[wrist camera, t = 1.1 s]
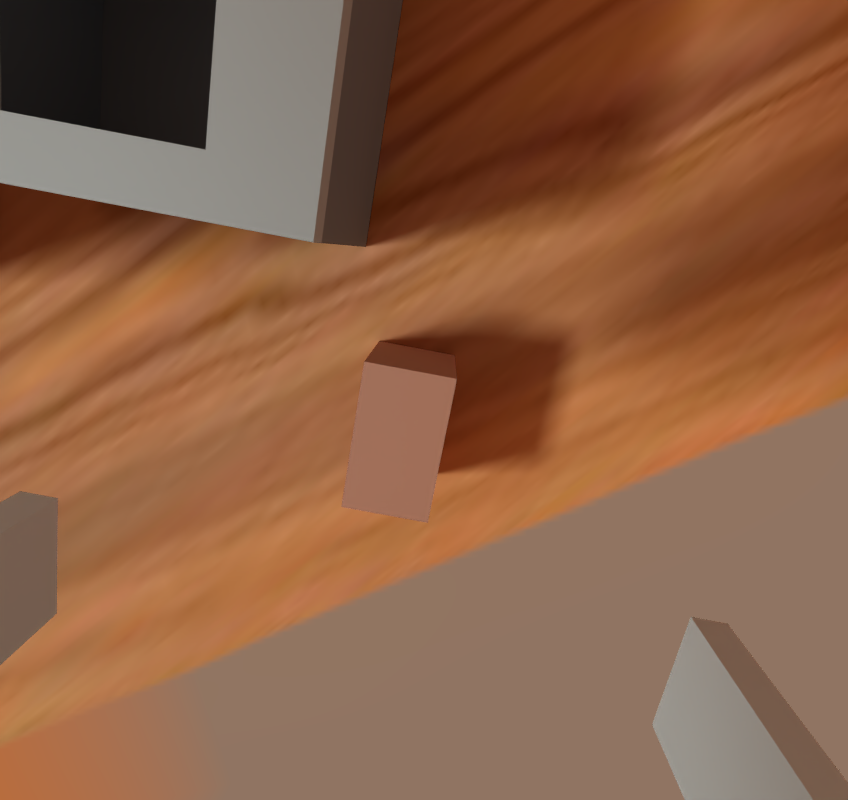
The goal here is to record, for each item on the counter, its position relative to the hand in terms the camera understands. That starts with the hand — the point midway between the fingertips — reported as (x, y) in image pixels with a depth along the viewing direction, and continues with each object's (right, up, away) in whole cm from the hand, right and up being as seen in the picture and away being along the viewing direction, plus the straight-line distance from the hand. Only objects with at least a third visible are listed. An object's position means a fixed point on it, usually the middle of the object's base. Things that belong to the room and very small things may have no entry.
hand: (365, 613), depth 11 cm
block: (0, +4, +15) cm, 15 cm away
